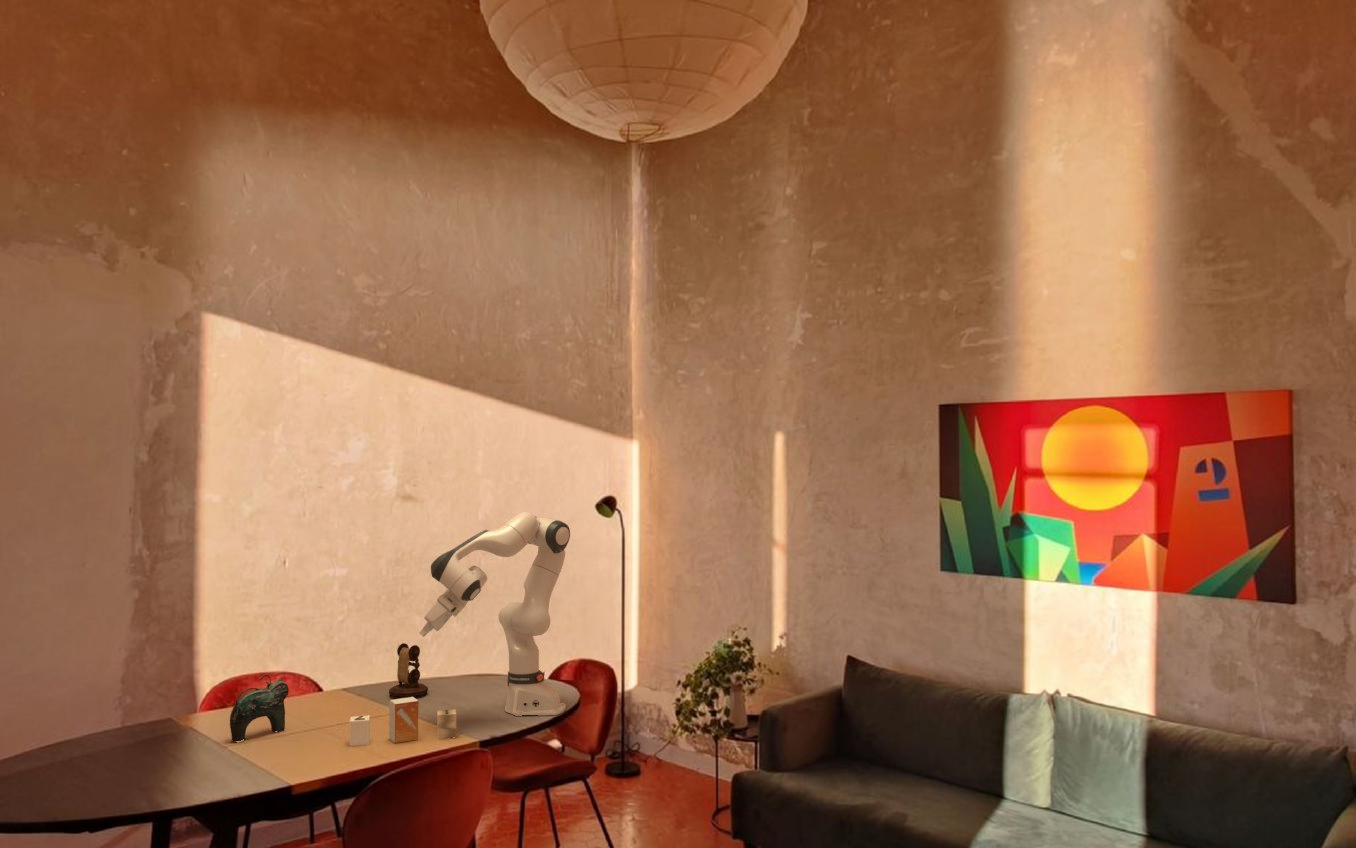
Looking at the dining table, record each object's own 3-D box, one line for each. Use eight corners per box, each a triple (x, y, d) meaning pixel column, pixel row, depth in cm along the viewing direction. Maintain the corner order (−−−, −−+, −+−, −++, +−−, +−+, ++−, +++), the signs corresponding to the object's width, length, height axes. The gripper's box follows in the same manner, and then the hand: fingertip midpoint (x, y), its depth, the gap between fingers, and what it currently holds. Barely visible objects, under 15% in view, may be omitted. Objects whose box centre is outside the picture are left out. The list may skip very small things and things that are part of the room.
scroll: (381, 696, 377) (381, 645, 378) (411, 688, 389) (411, 639, 390) (405, 702, 369) (406, 649, 369) (435, 694, 381) (436, 643, 382)
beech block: (455, 733, 328) (455, 708, 329) (456, 738, 323) (456, 713, 323) (437, 734, 327) (437, 709, 327) (437, 739, 321) (437, 714, 321)
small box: (394, 744, 316) (394, 704, 317) (388, 739, 322) (389, 699, 322) (418, 739, 321) (418, 700, 321) (412, 735, 326) (412, 696, 326)
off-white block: (369, 739, 321) (369, 714, 322) (369, 744, 316) (369, 719, 316) (350, 741, 320) (350, 716, 320) (349, 746, 314) (349, 720, 314)
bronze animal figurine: (281, 727, 336) (282, 669, 336) (292, 730, 332) (292, 672, 333) (226, 741, 320) (227, 681, 320) (237, 745, 316) (238, 683, 316)
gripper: (446, 604, 352) (418, 633, 348) (439, 594, 333) (410, 625, 328) (458, 615, 351) (431, 644, 347) (453, 606, 332) (424, 637, 328)
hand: (421, 635), depth 337 cm, fingers closed
